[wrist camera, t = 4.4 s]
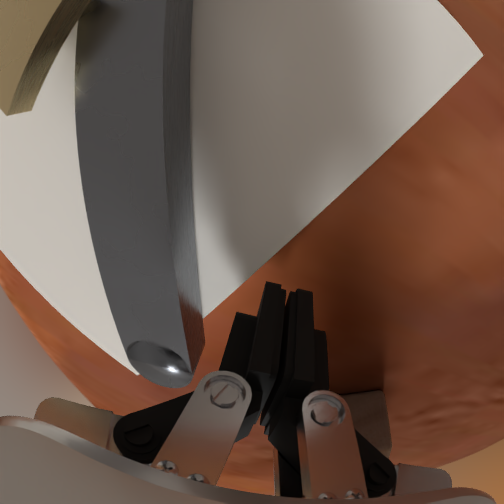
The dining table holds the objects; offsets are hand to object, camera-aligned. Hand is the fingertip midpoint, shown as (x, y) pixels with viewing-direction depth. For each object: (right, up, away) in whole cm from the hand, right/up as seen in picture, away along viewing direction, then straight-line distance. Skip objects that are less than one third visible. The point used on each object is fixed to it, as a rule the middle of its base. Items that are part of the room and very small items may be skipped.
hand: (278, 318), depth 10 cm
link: (-4, +7, -2) cm, 8 cm away
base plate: (-6, +8, 0) cm, 10 cm away
